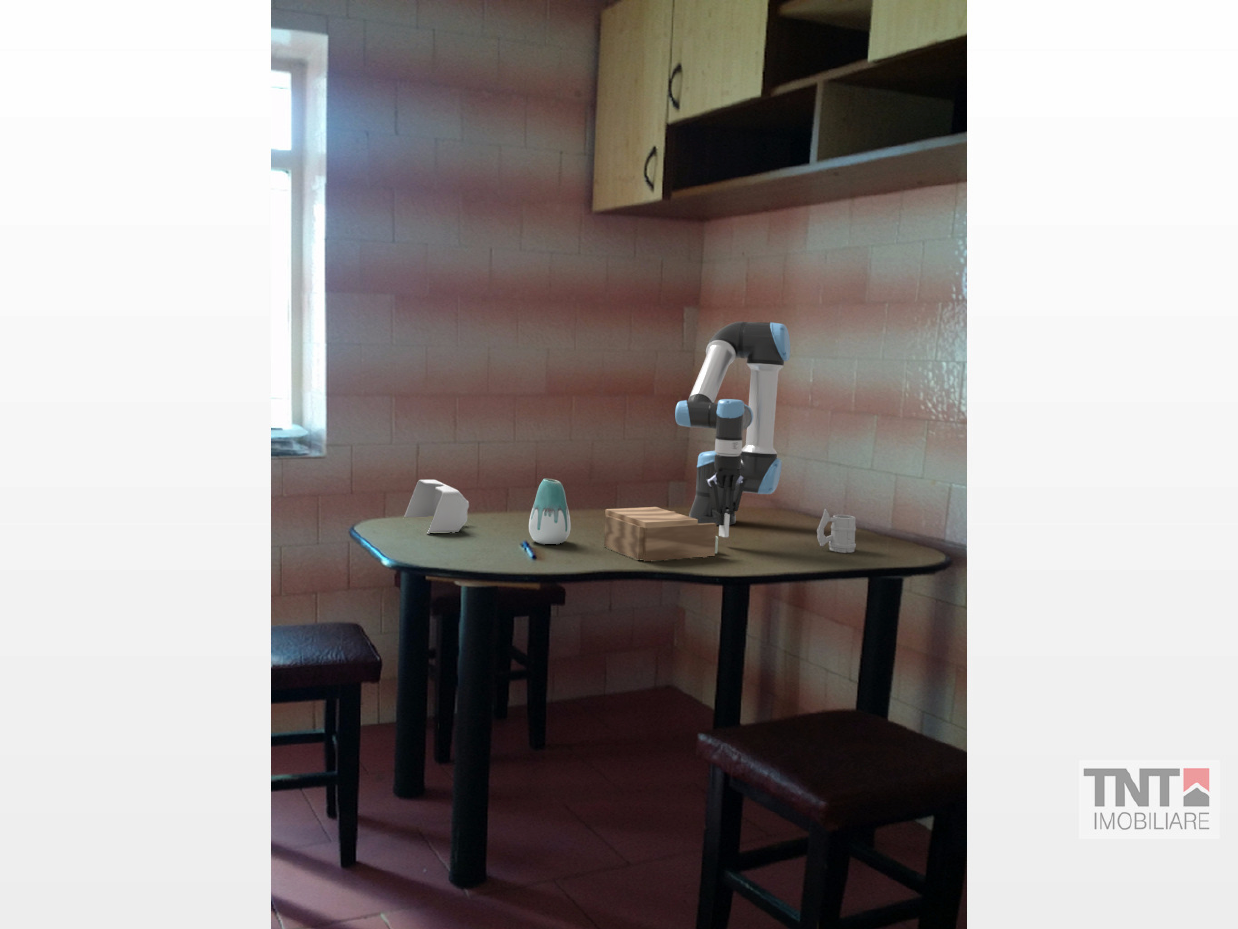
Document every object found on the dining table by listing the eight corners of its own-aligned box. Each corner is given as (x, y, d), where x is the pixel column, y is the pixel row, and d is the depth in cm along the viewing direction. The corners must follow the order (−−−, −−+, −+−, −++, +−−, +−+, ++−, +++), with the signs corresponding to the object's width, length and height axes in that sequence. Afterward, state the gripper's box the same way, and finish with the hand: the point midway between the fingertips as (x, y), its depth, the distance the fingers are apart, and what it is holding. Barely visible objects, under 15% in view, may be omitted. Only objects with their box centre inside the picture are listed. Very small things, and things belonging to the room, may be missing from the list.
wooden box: (601, 546, 293) (603, 509, 291) (672, 542, 305) (674, 506, 303) (640, 562, 275) (642, 522, 274) (714, 556, 287) (716, 518, 285)
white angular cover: (480, 533, 305) (482, 490, 304) (426, 535, 298) (428, 491, 296) (453, 518, 327) (454, 478, 326) (402, 520, 320) (403, 479, 318)
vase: (576, 542, 298) (579, 479, 296) (557, 548, 287) (560, 483, 285) (540, 537, 303) (543, 475, 301) (520, 543, 292) (522, 479, 290)
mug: (860, 553, 301) (863, 511, 300) (821, 553, 299) (824, 511, 297) (848, 547, 309) (851, 507, 307) (810, 547, 306) (813, 506, 305)
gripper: (716, 456, 291) (712, 540, 294) (754, 455, 298) (749, 537, 301) (701, 453, 298) (697, 535, 301) (738, 451, 304) (734, 532, 307)
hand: (723, 536), depth 301 cm, fingers closed
